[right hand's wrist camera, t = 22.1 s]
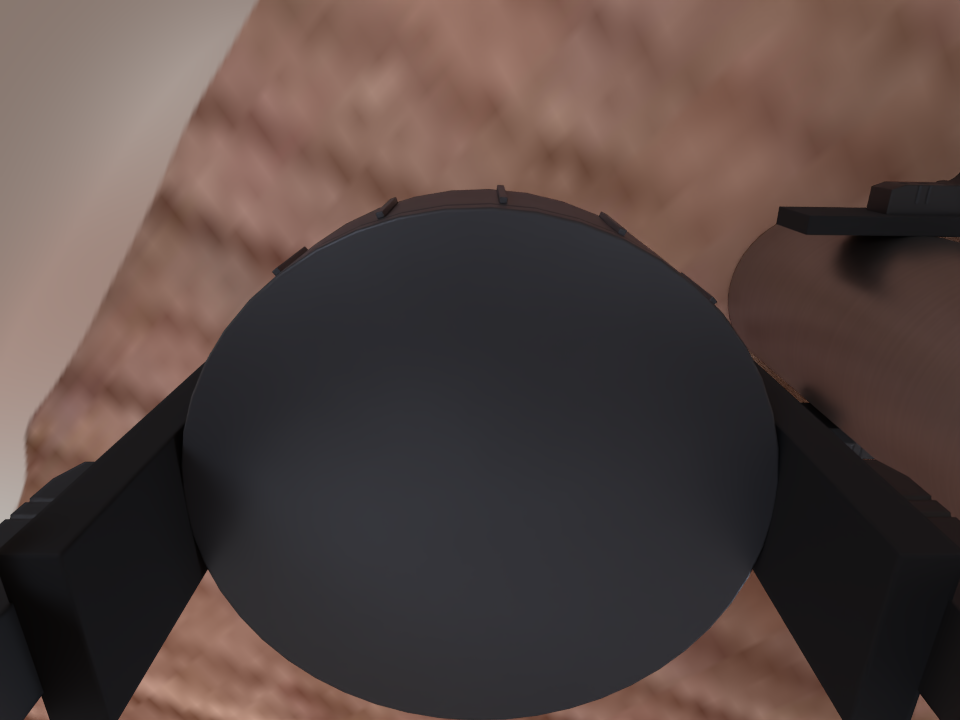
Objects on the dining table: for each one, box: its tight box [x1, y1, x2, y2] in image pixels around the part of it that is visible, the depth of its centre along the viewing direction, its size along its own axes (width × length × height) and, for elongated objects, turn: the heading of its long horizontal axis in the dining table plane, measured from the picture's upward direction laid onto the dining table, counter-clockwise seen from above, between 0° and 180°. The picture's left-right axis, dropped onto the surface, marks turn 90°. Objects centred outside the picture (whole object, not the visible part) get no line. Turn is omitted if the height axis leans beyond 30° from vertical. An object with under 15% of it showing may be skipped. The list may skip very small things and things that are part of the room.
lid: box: [181, 185, 779, 720], centre depth 11 cm, size 10×10×2 cm
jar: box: [728, 224, 960, 520], centre depth 24 cm, size 8×8×20 cm
